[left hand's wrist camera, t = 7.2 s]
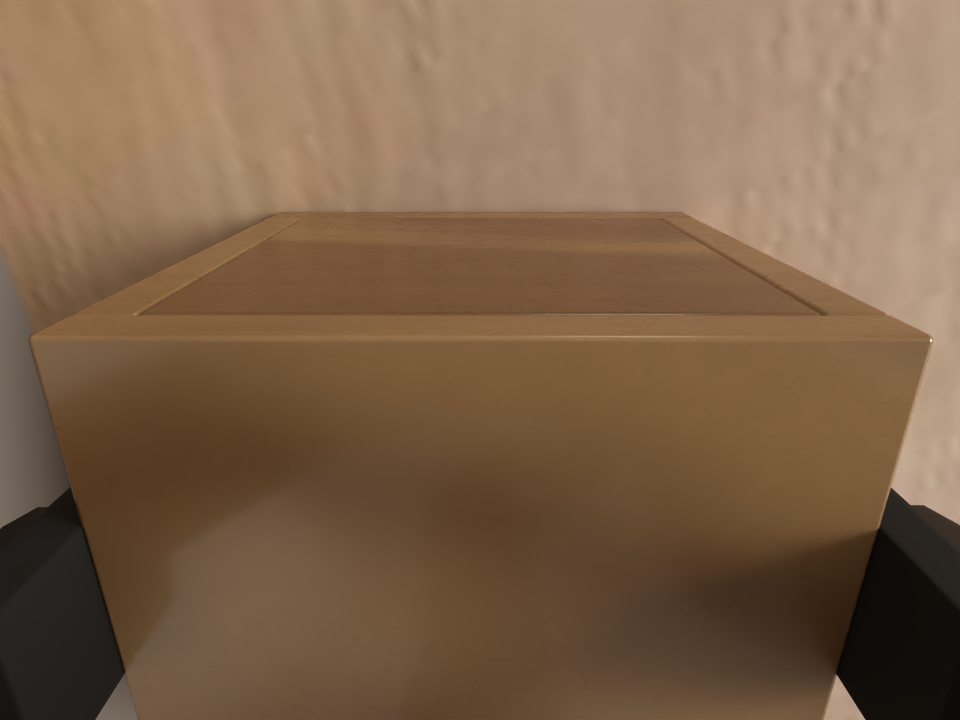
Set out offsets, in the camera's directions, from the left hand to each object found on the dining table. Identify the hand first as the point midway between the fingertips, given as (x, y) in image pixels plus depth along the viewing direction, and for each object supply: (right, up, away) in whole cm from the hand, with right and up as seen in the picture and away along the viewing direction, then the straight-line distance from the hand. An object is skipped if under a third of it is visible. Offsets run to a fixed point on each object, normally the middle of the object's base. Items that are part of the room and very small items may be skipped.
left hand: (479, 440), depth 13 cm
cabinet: (0, -3, +7) cm, 8 cm away
